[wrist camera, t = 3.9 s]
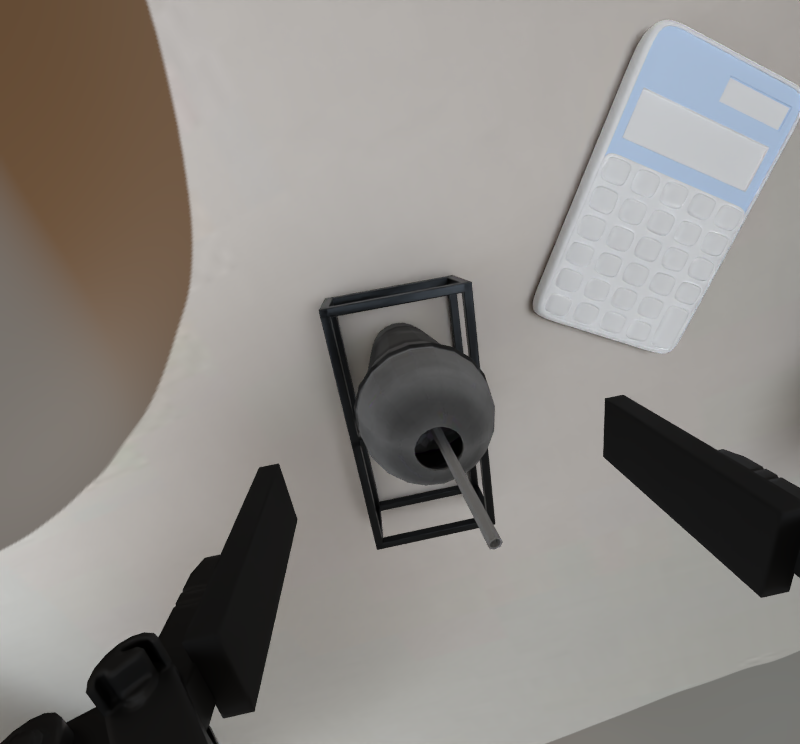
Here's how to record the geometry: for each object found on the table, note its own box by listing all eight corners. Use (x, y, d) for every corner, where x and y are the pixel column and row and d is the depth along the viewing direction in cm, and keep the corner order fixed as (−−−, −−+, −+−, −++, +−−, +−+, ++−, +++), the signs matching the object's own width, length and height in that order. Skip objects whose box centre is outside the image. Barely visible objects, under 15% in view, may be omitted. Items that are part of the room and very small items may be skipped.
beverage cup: (396, 285, 29) (468, 370, 10) (462, 344, 31) (626, 505, 12) (337, 356, 30) (300, 549, 11) (404, 407, 32) (470, 642, 13)
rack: (374, 508, 35) (377, 550, 30) (325, 298, 28) (318, 309, 23) (477, 486, 36) (495, 524, 31) (452, 275, 29) (471, 281, 24)
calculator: (524, 311, 30) (535, 316, 29) (642, 22, 25) (664, 5, 23) (657, 353, 33) (674, 359, 31) (791, 100, 27) (822, 90, 25)
